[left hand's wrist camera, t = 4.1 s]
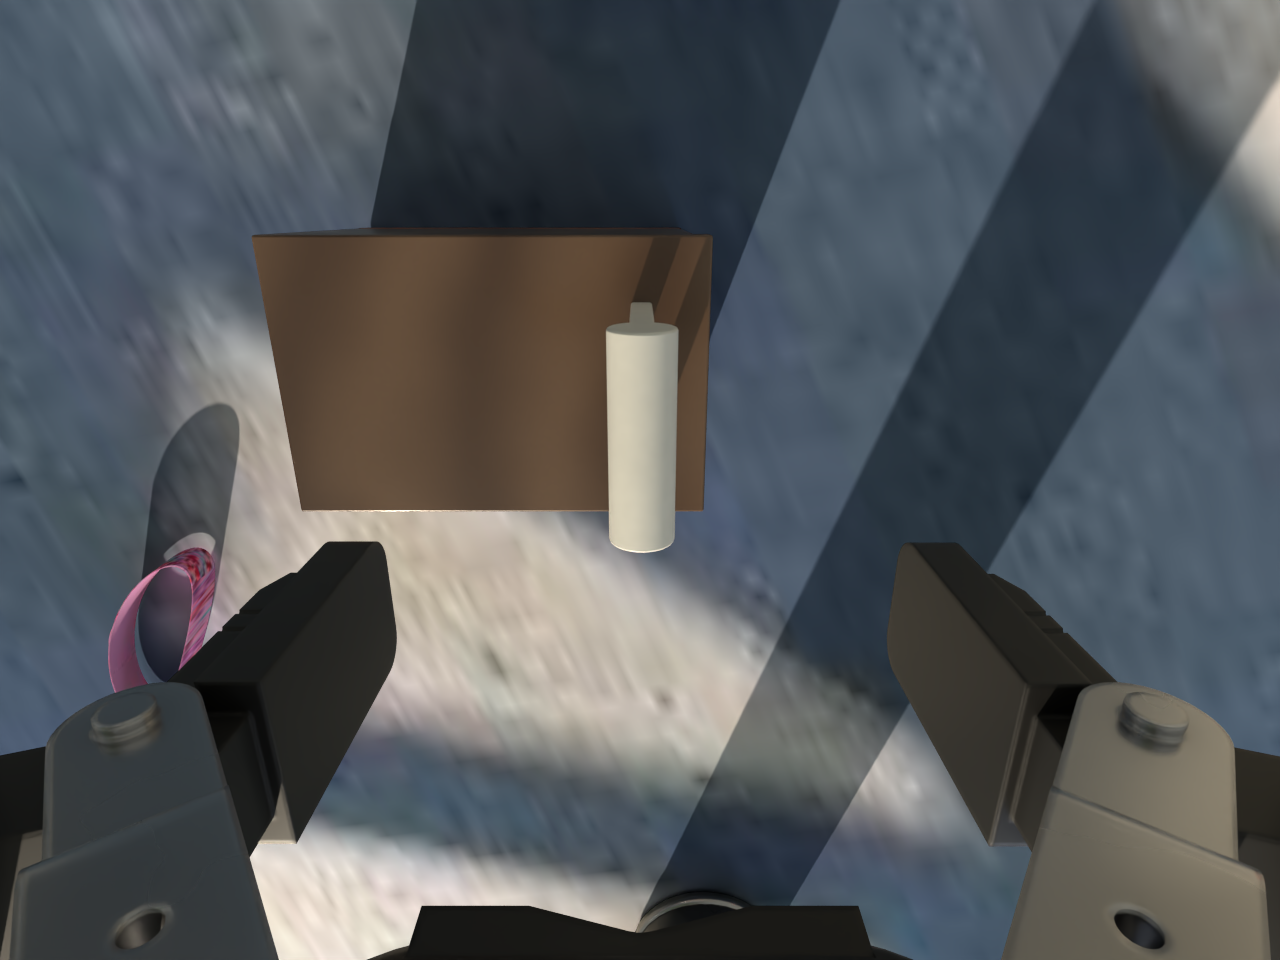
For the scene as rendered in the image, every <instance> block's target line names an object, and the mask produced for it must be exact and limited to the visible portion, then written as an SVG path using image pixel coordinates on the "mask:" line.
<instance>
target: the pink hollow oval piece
mask: <svg viewBox="0 0 1280 960" xmlns="http://www.w3.org/2000/svg"><path fill="white" fill-rule="evenodd" d="M166 567H178V568H181V569H182V570H184V571H185V572H186V573H187V575H188V577H189V579H190V582H191V587H192V608H191V616H190V622H189V628H188V633H187V638H186V642H185V647H184V651H183V655H182V659H181V663H180V667H179V670H180V669H181V668H182V667H183V666H184V665H185V664H186V663H187V662H188V661H189V660H190V659H191V658H192V657H193V656H194V655H195V654H196V653H197V652H198V651H199V650H200V649H201V647H202V643H203V640H204V636H205V632H206V628H207V624H208V619H209V615H210V610H211V605H212V600H213V593H214V585H215V567H214V562H213V559H212V557H211V555H210V554H209V552H208V551H206V550H205V549H202V548H190V549H187V550H184V551H182V552H180V553H178V554H176V555H175V556H173V557H172V558H171V559H169V560H168V561H167V562H165V563H164V564H163V565H161V566H160V567H158V568H157V569H156V570H154V571H153V572H152V573H150V574H149V575H148V576H146V577H145V578H144V579H143V580H142V581H140V582H139V583H138V584H137V585H136V586H135V588H134V589H133V590H132V591H131V592H130V594H129V595H128V596H127V598H126V599H125V601H124V603H123V604H122V606H121V608H120V610H119V612H118V614H117V616H116V619H115V621H114V624H113V628H112V629H111V632H110V636H109V652H108V661H109V671H110V677H111V681H112V685H113V688H114V690H115V693H116V692H119V691H122V690H125V689H129V688H132V687H136V686H140V685H145V684H148V683H147V682H146V680H145V679H144V677H143V675H142V672H141V670H140V667H139V664H138V661H137V657H136V652H135V643H134V631H135V621H136V616H137V612H138V608H139V605H140V602H141V599H142V597H143V595H144V593H145V591H146V589H147V587H148V585H149V584H150V582H151V580H152V579H153V578H154V576H155V575H156V574H157V572H158V571H159V570H160V569H163V568H166Z"/></svg>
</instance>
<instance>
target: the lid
mask: <svg viewBox="0 0 1280 960" xmlns="http://www.w3.org/2000/svg"><path fill="white" fill-rule="evenodd" d="M252 242H253V247H254V252H255V258H256V263H257V269H258V274H259V280H260V285H261V291H262V296H263V302H264V307H265V312H266V318H267V323H268V329H269V334H270V340H271V345H272V351H273V356H274V362H275V367H276V372H277V378H278V383H279V389H280V394H281V400H282V405H283V411H284V416H285V421H286V427H287V432H288V438H289V443H290V449H291V454H292V460H293V465H294V471H295V476H296V481H297V487H298V492H299V498H300V503H301V509H302V511H609V538H610V541H611V542H612V544H613V545H614V546H616V547H618V548H620V549H622V550H626V551H631V552H653V551H658V550H662V549H664V548H666V547H668V546H670V545H671V544H672V542H673V541H674V537H675V511H703V509H704V481H705V452H706V423H707V394H708V365H709V336H710V307H711V278H712V249H713V237H712V235H709V234H261V235H253V236H252Z"/></svg>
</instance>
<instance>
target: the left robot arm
mask: <svg viewBox="0 0 1280 960" xmlns="http://www.w3.org/2000/svg"><path fill="white" fill-rule="evenodd" d="M396 643H397V632H396V624H395V617H394V610H393V602H392V595H391V588H390V581H389V574H388V567H387V560H386V555H385V551H384V549H383V547H382V545H381V544H380V543H379V542H327V543H325V544H324V545H323V546H322V547H321V548H320V549H319V550H318V551H317V552H316V553H315V554H314V556H313V557H312V558H311V559H310V560H309V561H308V562H307V563H306V564H305V565H304V566H303V567H302V568H301V569H300V570H299V571H298V572H297V573H289V574H288V575H286V576H284V577H282V578H280V579H279V580H277V581H275V582H273V583H271V584H269V585H268V586H266V587H264V588H262V589H260V590H259V591H258V592H257V593H256V594H255V595H254V596H253V597H252V598H251V599H250V600H249V601H248V602H247V603H246V604H245V605H244V606H243V607H242V608H241V609H240V612H239V614H235V615H234V616H233V617H232V618H231V619H230V620H229V621H228V622H227V623H226V624H225V625H224V626H223V629H222V631H218V632H217V633H216V634H215V635H214V636H213V637H212V638H211V639H210V640H209V641H208V642H207V643H206V644H205V645H204V646H203V647H202V648H201V649H200V650H199V651H198V652H197V653H196V654H195V655H194V656H193V657H192V658H191V659H190V660H189V661H188V662H187V663H186V664H185V665H184V666H183V667H182V668H181V669H180V670H179V671H178V672H177V673H176V674H175V675H174V676H173V677H172V678H171V679H170V680H169V681H168V682H160V683H151V684H145V685H140V686H136V687H132V688H129V689H125V690H122V691H119V692H116V693H113V694H111V695H108V696H106V697H104V698H101V699H99V700H97V701H95V702H93V703H91V704H89V705H87V706H86V707H84V708H82V709H81V710H79V711H78V712H76V713H75V714H73V715H72V716H71V717H69V718H68V719H67V720H65V721H64V722H63V723H62V724H61V725H60V726H59V727H58V728H57V729H56V730H55V731H54V733H53V734H52V735H51V736H50V738H49V740H48V742H47V745H46V747H41V748H36V749H31V750H26V751H21V752H16V753H11V754H5V755H0V960H279V959H278V955H277V952H276V948H275V945H274V941H273V938H272V934H271V931H270V927H269V924H268V920H267V917H266V913H265V910H264V907H263V903H262V900H261V896H260V893H259V889H258V886H257V882H256V879H255V875H254V872H253V868H252V865H251V861H250V858H249V857H250V856H251V854H252V852H253V851H254V849H255V848H256V846H257V844H297V842H298V840H299V838H300V836H301V834H302V833H303V831H304V829H305V827H306V825H307V823H308V822H309V820H310V818H311V816H312V814H313V812H314V810H315V809H316V807H317V805H318V803H319V801H320V799H321V798H322V796H323V794H324V792H325V790H326V788H327V787H328V785H329V783H330V781H331V779H332V777H333V776H334V774H335V772H336V770H337V768H338V766H339V765H340V763H341V761H342V759H343V757H344V755H345V753H346V752H347V750H348V748H349V746H350V744H351V742H352V741H353V739H354V737H355V735H356V733H357V731H358V730H359V728H360V726H361V724H362V722H363V720H364V719H365V717H366V715H367V713H368V711H369V709H370V708H371V706H372V704H373V702H374V700H375V698H376V696H377V695H378V693H379V691H380V689H381V687H382V685H383V684H384V682H385V680H386V678H387V676H388V674H389V673H390V670H391V668H392V665H393V662H394V658H395V653H396ZM887 648H888V656H889V661H890V664H891V667H892V670H893V672H894V674H895V676H896V678H897V680H898V682H899V683H900V685H901V687H902V689H903V691H904V692H905V694H906V696H907V698H908V700H909V701H910V703H911V705H912V707H913V709H914V711H915V712H916V714H917V716H918V718H919V720H920V721H921V723H922V725H923V727H924V729H925V731H926V732H927V734H928V736H929V738H930V740H931V741H932V743H933V745H934V747H935V749H936V751H937V752H938V754H939V756H940V758H941V760H942V761H943V763H944V765H945V767H946V769H947V771H948V772H949V774H950V776H951V778H952V780H953V781H954V783H955V785H956V787H957V789H958V791H959V792H960V794H961V796H962V798H963V800H964V801H965V803H966V805H967V807H968V809H969V810H970V812H971V814H972V816H973V818H974V820H975V821H976V823H977V825H978V827H979V829H980V830H981V832H982V834H983V836H984V838H985V840H986V841H987V843H988V845H989V846H1028V847H1029V848H1030V850H1031V852H1032V854H1031V858H1030V861H1029V865H1028V868H1027V872H1026V875H1025V879H1024V882H1023V886H1022V889H1021V893H1020V896H1019V900H1018V903H1017V907H1016V910H1015V913H1014V917H1013V920H1012V924H1011V927H1010V931H1009V934H1008V938H1007V941H1006V945H1005V948H1004V952H1003V955H1002V959H1001V960H1280V757H1279V756H1274V755H1269V754H1264V753H1259V752H1254V751H1249V750H1244V749H1239V748H1235V747H1234V745H1233V742H1232V740H1231V738H1230V736H1229V735H1228V734H1227V733H1226V731H1225V730H1224V729H1223V728H1222V727H1221V726H1220V725H1219V724H1218V723H1217V722H1216V721H1215V720H1213V719H1212V718H1211V717H1209V716H1208V715H1207V714H1205V713H1204V712H1202V711H1201V710H1199V709H1198V708H1196V707H1194V706H1193V705H1191V704H1189V703H1187V702H1185V701H1183V700H1181V699H1179V698H1176V697H1174V696H1172V695H1169V694H1167V693H1164V692H1161V691H1158V690H1155V689H1151V688H1148V687H1144V686H1140V685H1135V684H1129V683H1120V682H1117V681H1116V680H1115V679H1114V678H1113V677H1112V676H1111V675H1110V674H1109V673H1108V672H1107V671H1106V670H1105V669H1104V668H1103V667H1102V666H1100V665H1099V664H1098V663H1097V662H1096V661H1095V660H1094V659H1093V658H1092V657H1091V656H1090V655H1089V654H1088V653H1087V652H1086V651H1085V650H1084V649H1083V648H1082V647H1081V646H1080V645H1079V644H1078V643H1077V642H1076V641H1075V640H1074V639H1073V638H1072V637H1071V636H1070V635H1069V634H1068V633H1063V628H1062V627H1061V626H1060V625H1059V624H1058V623H1057V622H1056V621H1055V620H1054V619H1053V618H1052V617H1051V616H1046V611H1045V610H1044V609H1043V608H1042V607H1041V606H1040V605H1039V604H1038V603H1037V602H1036V601H1035V600H1033V599H1032V598H1031V597H1030V596H1029V595H1028V594H1027V593H1026V592H1025V591H1024V590H1022V589H1020V588H1018V587H1017V586H1015V585H1013V584H1011V583H1009V582H1007V581H1006V580H1004V579H1002V578H1000V577H998V576H997V575H995V574H987V573H986V572H985V571H984V570H983V569H982V568H981V567H980V566H979V564H978V563H977V562H976V561H975V560H974V559H973V558H972V557H971V556H970V555H969V554H968V553H967V552H966V551H965V550H964V549H963V548H962V547H961V546H960V545H959V544H957V543H905V544H904V545H903V546H902V548H901V550H900V552H899V556H898V561H897V567H896V574H895V581H894V588H893V595H892V602H891V609H890V616H889V623H888V631H887ZM368 960H912V959H910V958H907V957H904V956H902V955H899V954H896V953H893V952H891V951H888V950H885V949H882V948H878V947H874V946H871V945H870V942H869V938H868V935H867V932H866V929H865V926H864V923H863V919H862V916H861V913H860V910H859V907H858V906H750V905H749V904H747V903H746V902H744V901H742V900H740V899H737V898H735V897H732V896H729V895H725V894H720V893H712V892H696V893H688V894H683V895H679V896H676V897H673V898H670V899H668V900H665V901H663V902H662V903H660V904H658V905H657V906H655V907H654V908H652V909H651V910H650V911H649V912H648V913H647V914H646V915H645V916H644V917H643V918H642V920H641V921H640V923H639V925H638V927H637V929H636V932H630V931H625V930H621V929H618V928H614V927H610V926H606V925H602V924H598V923H594V922H590V921H586V920H582V919H578V918H574V917H571V916H567V915H563V914H559V913H555V912H551V911H547V910H543V909H539V908H535V907H531V906H422V907H421V910H420V913H419V916H418V919H417V923H416V926H415V929H414V932H413V935H412V938H411V942H410V945H409V946H406V947H402V948H398V949H395V950H392V951H389V952H387V953H384V954H381V955H378V956H376V957H373V958H370V959H368Z"/></svg>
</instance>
